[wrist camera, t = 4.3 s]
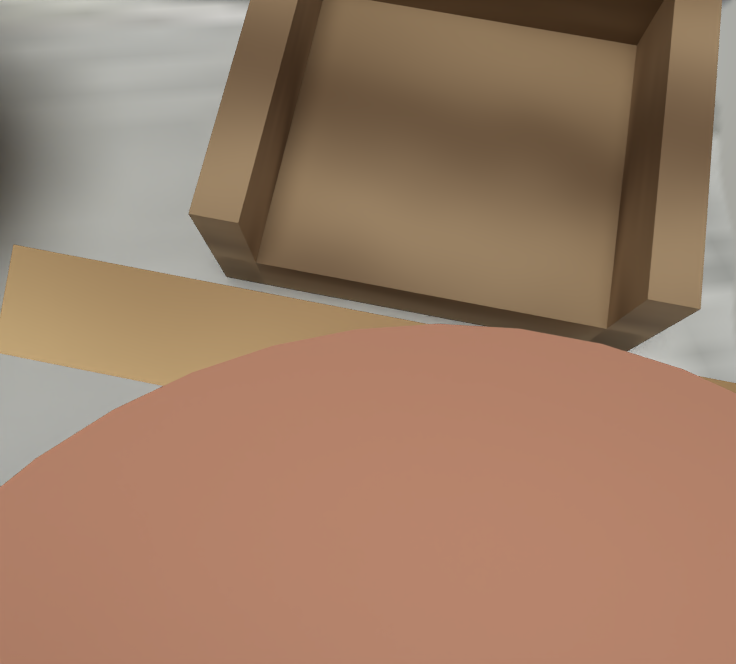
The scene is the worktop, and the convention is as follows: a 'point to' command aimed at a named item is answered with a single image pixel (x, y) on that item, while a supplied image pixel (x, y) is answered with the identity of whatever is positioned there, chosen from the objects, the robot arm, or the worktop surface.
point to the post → (386, 511)
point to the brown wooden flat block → (153, 318)
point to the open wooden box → (471, 159)
